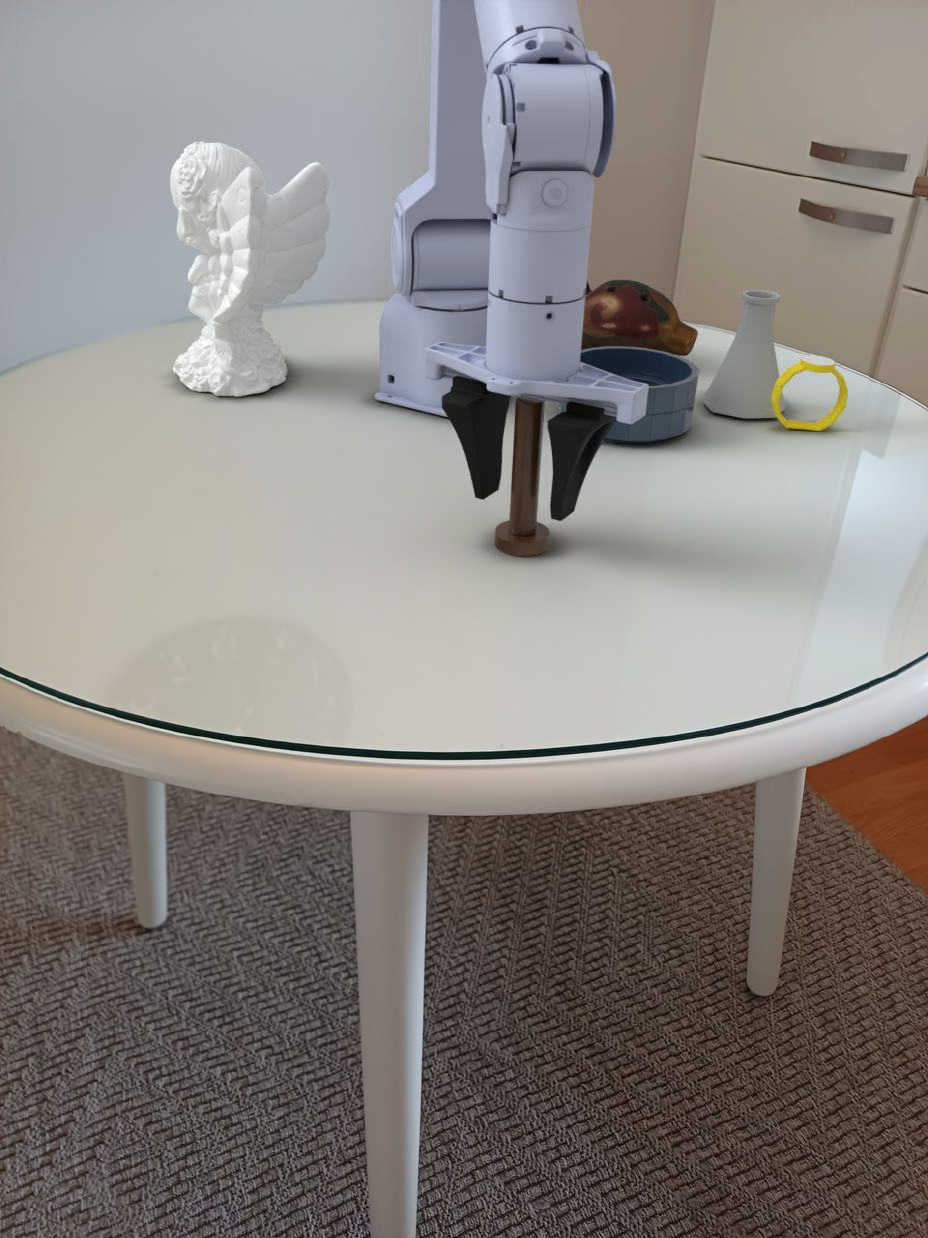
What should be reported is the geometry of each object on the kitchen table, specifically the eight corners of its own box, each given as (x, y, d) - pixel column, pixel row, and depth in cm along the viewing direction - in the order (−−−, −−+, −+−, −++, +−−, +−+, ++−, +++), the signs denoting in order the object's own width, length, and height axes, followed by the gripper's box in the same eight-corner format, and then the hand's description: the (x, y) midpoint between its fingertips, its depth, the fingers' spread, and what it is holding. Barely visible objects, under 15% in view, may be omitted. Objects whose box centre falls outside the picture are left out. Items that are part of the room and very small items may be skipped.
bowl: (534, 428, 91) (538, 370, 88) (593, 393, 99) (598, 338, 96) (659, 458, 86) (666, 397, 83) (710, 418, 94) (718, 361, 91)
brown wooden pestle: (484, 547, 72) (490, 401, 66) (511, 527, 74) (519, 385, 69) (532, 561, 70) (542, 413, 65) (558, 541, 73) (569, 396, 68)
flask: (786, 425, 93) (808, 307, 88) (701, 417, 94) (717, 300, 89) (782, 398, 99) (803, 286, 94) (702, 391, 100) (718, 280, 95)
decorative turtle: (553, 338, 114) (564, 259, 110) (696, 366, 110) (713, 286, 106) (527, 359, 105) (538, 274, 102) (680, 390, 102) (698, 304, 98)
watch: (771, 432, 91) (783, 363, 88) (764, 421, 94) (776, 353, 91) (842, 435, 91) (857, 365, 88) (833, 423, 94) (847, 355, 91)
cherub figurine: (233, 347, 108) (215, 127, 98) (342, 366, 104) (335, 139, 94) (148, 384, 98) (118, 143, 88) (265, 407, 93) (248, 156, 83)
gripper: (396, 286, 64) (397, 498, 71) (621, 327, 58) (598, 556, 64) (459, 264, 69) (454, 464, 76) (672, 300, 63) (646, 514, 70)
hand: (524, 504), depth 71 cm, fingers open, 5 cm apart
